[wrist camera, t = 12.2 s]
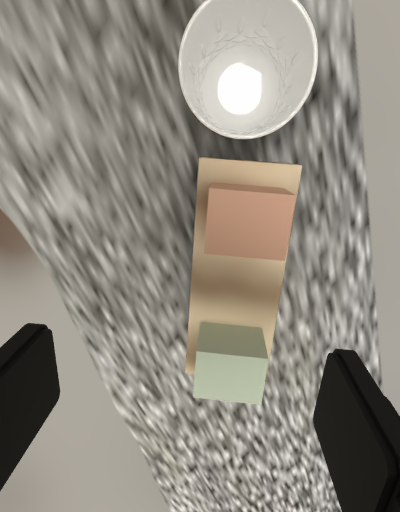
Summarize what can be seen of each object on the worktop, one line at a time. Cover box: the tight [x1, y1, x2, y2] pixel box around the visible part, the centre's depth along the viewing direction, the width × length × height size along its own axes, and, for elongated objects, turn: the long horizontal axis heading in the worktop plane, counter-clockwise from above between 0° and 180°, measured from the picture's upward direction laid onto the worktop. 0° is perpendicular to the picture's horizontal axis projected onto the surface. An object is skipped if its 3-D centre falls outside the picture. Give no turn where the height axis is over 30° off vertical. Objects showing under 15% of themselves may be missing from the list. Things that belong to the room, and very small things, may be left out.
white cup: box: [178, 0, 318, 139], centre depth 22 cm, size 8×8×10 cm
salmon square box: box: [204, 182, 296, 261], centre depth 20 cm, size 4×5×4 cm
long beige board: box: [185, 157, 302, 382], centre depth 26 cm, size 18×7×5 cm, turn 176°
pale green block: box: [193, 322, 269, 405], centre depth 24 cm, size 4×5×4 cm
